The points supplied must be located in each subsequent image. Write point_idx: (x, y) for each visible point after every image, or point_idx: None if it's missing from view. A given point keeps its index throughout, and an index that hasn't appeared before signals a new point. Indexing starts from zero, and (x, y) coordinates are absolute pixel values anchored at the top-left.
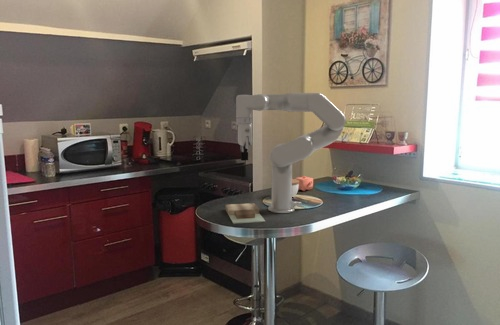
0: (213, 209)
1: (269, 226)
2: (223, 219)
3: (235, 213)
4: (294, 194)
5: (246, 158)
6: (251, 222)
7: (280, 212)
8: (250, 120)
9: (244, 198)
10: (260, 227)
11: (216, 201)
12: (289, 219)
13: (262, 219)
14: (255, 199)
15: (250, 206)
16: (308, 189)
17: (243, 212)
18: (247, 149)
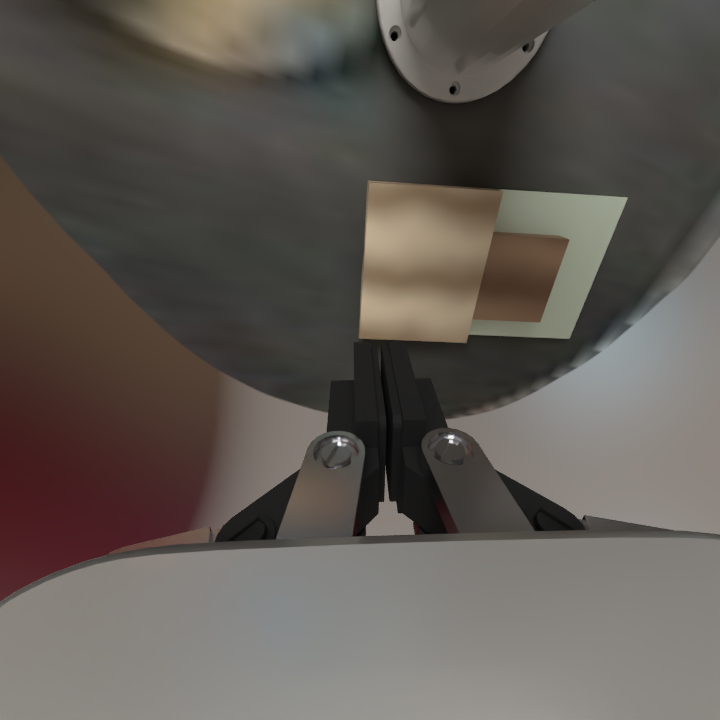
0: (339, 371)
1: (698, 199)
2: (495, 359)
3: (495, 318)
4: None
5: (428, 379)
6: (595, 264)
7: (542, 37)
8: None
9: (121, 177)
10: (680, 245)
11: (196, 339)
12: (676, 25)
13: (603, 206)
14: (146, 103)
15: (433, 226)
16: None
17: (517, 287)
18: (541, 498)
